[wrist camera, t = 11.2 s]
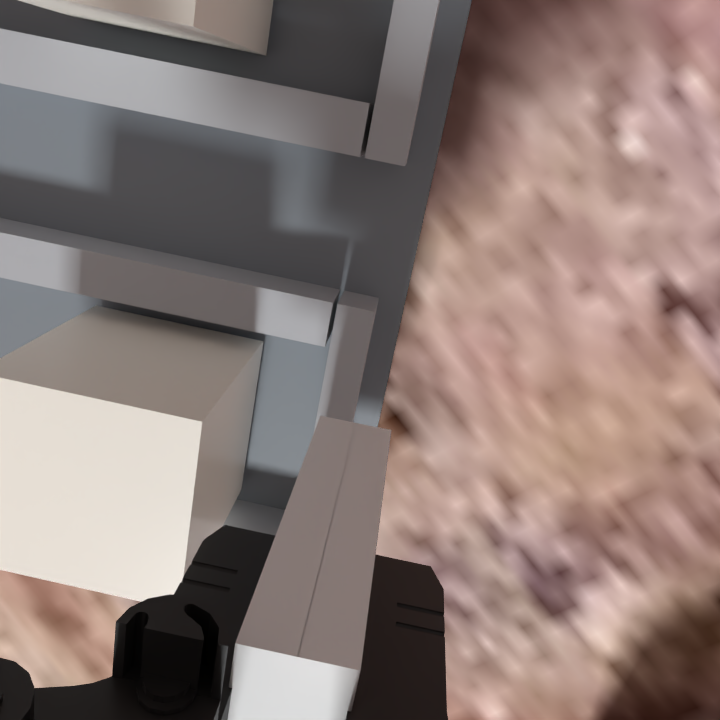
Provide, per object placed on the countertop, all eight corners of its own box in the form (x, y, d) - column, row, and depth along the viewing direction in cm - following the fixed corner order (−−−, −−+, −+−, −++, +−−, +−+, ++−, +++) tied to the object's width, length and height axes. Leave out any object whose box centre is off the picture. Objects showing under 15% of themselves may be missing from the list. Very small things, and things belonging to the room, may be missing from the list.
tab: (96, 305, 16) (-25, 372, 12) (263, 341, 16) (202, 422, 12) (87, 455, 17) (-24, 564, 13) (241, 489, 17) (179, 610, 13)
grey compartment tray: (-326, -520, 13) (-507, -674, 11) (550, -360, 13) (579, -481, 10) (-212, 473, 21) (-303, 522, 18) (338, 597, 20) (325, 665, 18)
